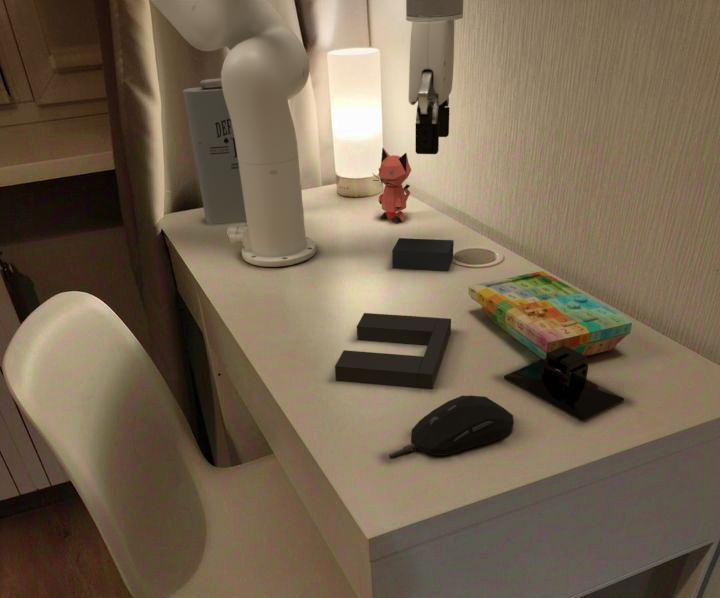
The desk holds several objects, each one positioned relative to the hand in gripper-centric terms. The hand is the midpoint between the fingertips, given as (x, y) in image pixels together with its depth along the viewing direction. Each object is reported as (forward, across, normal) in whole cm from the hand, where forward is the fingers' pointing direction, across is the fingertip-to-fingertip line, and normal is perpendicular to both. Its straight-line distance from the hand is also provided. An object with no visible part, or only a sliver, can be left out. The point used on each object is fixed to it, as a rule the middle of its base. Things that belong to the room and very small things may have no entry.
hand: (432, 144), depth 106 cm
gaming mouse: (+18, +48, +10) cm, 53 cm away
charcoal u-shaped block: (+18, +31, +1) cm, 36 cm away
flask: (+18, -19, -38) cm, 46 cm away
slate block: (+18, 0, -1) cm, 18 cm away
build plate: (+18, +36, +22) cm, 46 cm away
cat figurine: (+18, -21, -10) cm, 30 cm away
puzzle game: (+18, +22, +19) cm, 34 cm away
